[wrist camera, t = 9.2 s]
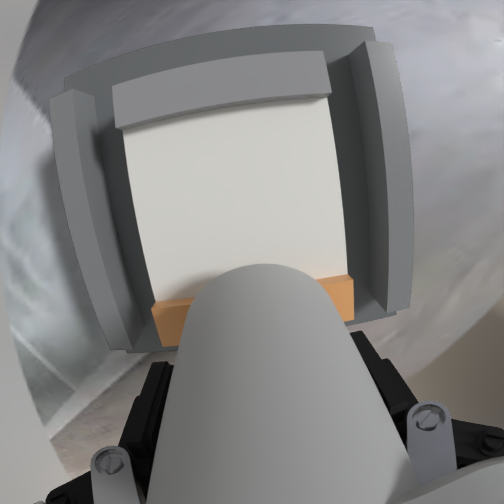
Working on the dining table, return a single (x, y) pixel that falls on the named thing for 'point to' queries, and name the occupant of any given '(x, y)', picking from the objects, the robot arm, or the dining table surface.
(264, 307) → the beverage can
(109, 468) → the robot arm
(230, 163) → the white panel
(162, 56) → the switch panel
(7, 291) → the dining table surface
